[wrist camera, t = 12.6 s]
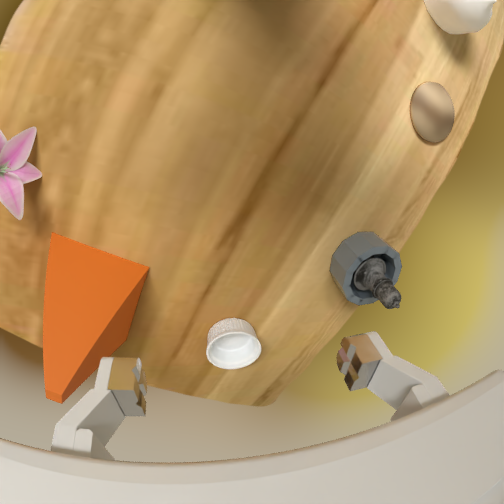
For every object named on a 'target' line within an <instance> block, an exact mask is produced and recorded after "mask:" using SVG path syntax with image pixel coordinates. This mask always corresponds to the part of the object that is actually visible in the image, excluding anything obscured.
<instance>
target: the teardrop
mask: <svg viewBox="0 0 504 504" xmlns="http://www.w3.org/2000/svg"><path fill="white" fill-rule="evenodd" d="M495 2H496V0H424V3H425V5H426V8H427V11H428V12H429V14H430V15H431V17H432V18H433V20H434V21H435V23H436V24H437V25H438V26H439V27H440V28H441V29H442V30H444V31H446V32H447V33H449V34H465V33H474V32H478V31H479V30H481V29H482V28H483V27H485V26H486V25H487V23H488V22H489V21H490V18H491V16H492V6H493V4H494V3H495Z"/></svg>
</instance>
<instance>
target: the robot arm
mask: <svg viewBox="0 0 504 504" xmlns="http://www.w3.org/2000/svg"><path fill="white" fill-rule="evenodd" d="M341 346H342V348H341V349H340V350H339V351H338V354H337V365H338V368H339V370H340V372H341V373H343V374H345V378H344V380H345V382H346V384H347V386H348V388H349V390H350V391H353V390H357V389H361V388H365V387H367V388H368V389H369V390H370V391H372V392H373V393H374V394H376V395H377V396H378V397H380V398H381V399H383V400H384V401H385V402H387V403H388V404H389V405H391V406H392V407H393V408H395V409H396V410H397V411H396V412H395V413H394V415H393V416H392V418H391V422H389V423H386V424H383V425H381V426H377V427H375V428H372V429H369V430H366V431H363V432H359V433H357V434H353V435H350V436H346V437H343V438H339V439H336V440H332V441H328V442H324V443H321V444H317V445H312V446H308V447H303V448H299V449H294V450H289V451H284V452H278V453H273V454H267V455H260V456H253V457H246V458H238V459H228V460H218V461H205V462H204V461H203V462H183V463H181V462H180V463H153V462H151V463H150V462H129V461H115V460H114V458H113V457H112V455H111V454H110V453H109V452H108V451H107V450H106V449H105V445H106V444H107V442H108V441H109V439H110V438H111V437H112V435H113V434H114V432H115V431H116V430H117V428H118V427H119V425H120V424H121V423H122V421H123V420H124V418H125V416H145V414H146V413H145V412H146V401H145V399H144V396H145V395H146V393H147V382H146V376H145V372H144V371H143V370H142V369H141V365H142V363H141V361H140V358H127V357H102V359H101V360H100V365H99V369H98V374H97V379H96V383H95V388H94V389H91V390H90V391H89V392H88V393H87V394H86V395H85V396H84V397H83V398H82V399H81V400H80V401H79V402H78V403H77V404H76V405H75V406H74V407H73V408H72V409H71V410H70V411H69V412H68V413H67V414H66V415H65V416H64V417H63V418H62V419H61V420H60V421H59V422H58V423H57V424H56V427H55V431H54V436H53V441H52V446H51V451H47V450H43V449H39V448H34V447H30V446H26V445H23V444H19V443H15V442H12V441H8V440H5V439H2V438H0V504H504V371H502V370H495V371H493V372H492V373H490V374H488V375H487V376H485V377H483V378H482V379H480V380H478V381H476V382H475V383H473V384H471V385H470V386H467V387H466V388H464V389H462V390H460V391H458V392H456V393H454V394H452V395H449V394H448V392H447V391H446V390H445V388H444V387H443V385H442V384H441V382H440V381H439V379H438V378H437V377H436V376H434V375H432V374H430V373H428V372H426V371H424V370H422V369H421V368H419V367H417V366H415V365H413V364H411V363H409V362H407V361H405V360H403V359H401V358H399V357H398V356H393V355H392V354H391V352H390V351H389V349H388V348H387V346H386V345H385V343H384V342H383V340H382V339H381V338H380V336H379V335H378V333H376V332H375V331H374V332H369V333H365V334H359V335H354V336H350V337H344V338H343V339H342V342H341Z"/></svg>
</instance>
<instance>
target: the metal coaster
mask: <svg viewBox="0 0 504 504" xmlns="http://www.w3.org/2000/svg"><path fill="white" fill-rule="evenodd" d="M410 115H411V120H412V123H413V126H414V128H415V130H416V132H417V133H418V134H419V135H420V136H421V137H422V138H423V139H425V140H427V141H430V142H440V141H442V140H444V139H445V138H446V137H447V136H448V135H449V133H450V131H451V129H452V127H453V123H454V106H453V102H452V99H451V97H450V95H449V93H448V92H447V90H446V89H445V88H444V87H443V86H441V85H440V84H438V83H435V82H424V83H422V84H420V85H419V86H418V87H417V88H416V89H415V91H414V93H413V95H412V98H411V103H410Z"/></svg>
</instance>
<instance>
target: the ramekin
mask: <svg viewBox="0 0 504 504" xmlns="http://www.w3.org/2000/svg"><path fill="white" fill-rule="evenodd" d="M260 353H261V344H260V342H259V340H258V338H257V336H256V334H255V331H254V329H253V327H252V326H251V325H250V324H249V323H248V322H246V321H245V320H242V319H238V318H228V319H224V320H221V321H219V322H217V323H216V324H214V325H213V326H212V327H211V329H210V330H209V333H208V346H207V350H206V354H207V358H208V360H209V361H210V362H211V363H212V364H213V365H215V366H217V367H220V368H223V369H238V368H243V367H245V366H248V365H250V364H251V363H253V362H254V361H255V360H256V359H257V358H258V357H259V355H260Z"/></svg>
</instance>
